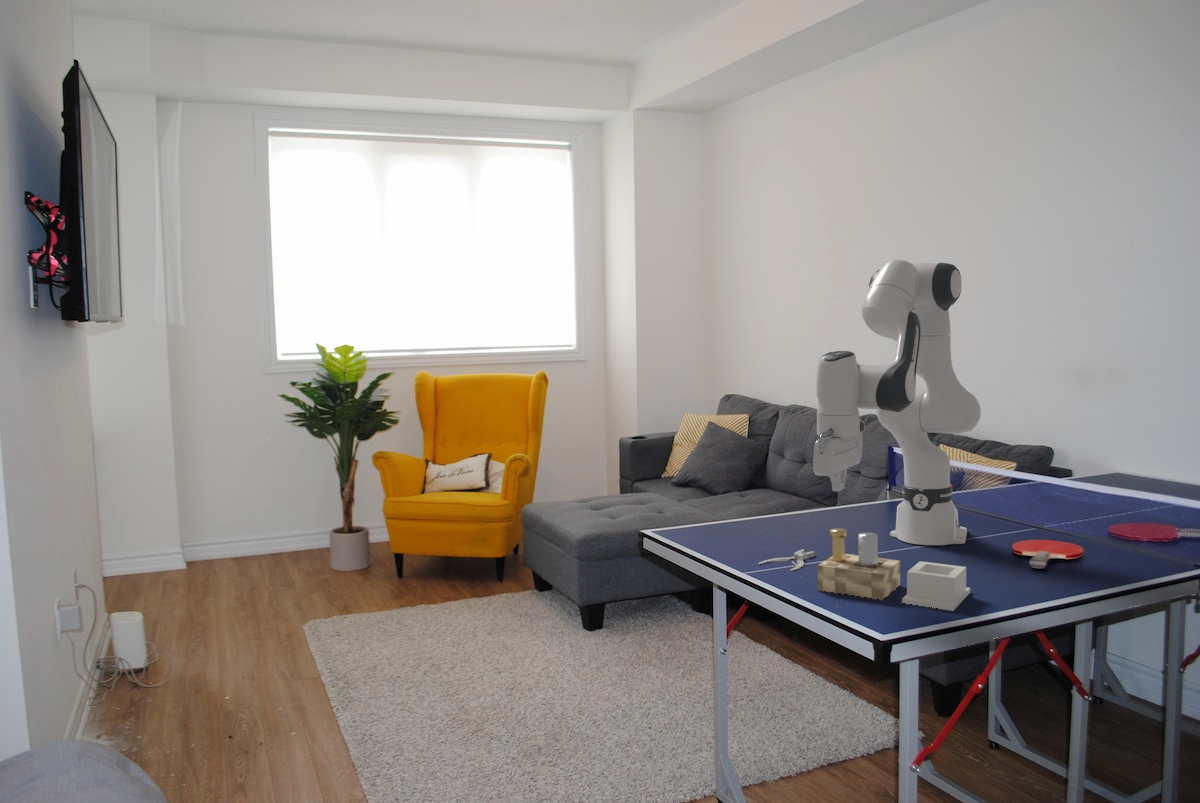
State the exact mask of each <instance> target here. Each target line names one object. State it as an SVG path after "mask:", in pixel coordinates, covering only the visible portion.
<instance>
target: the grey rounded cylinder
mask: <svg viewBox="0 0 1200 803" xmlns="http://www.w3.org/2000/svg"><path fill="white" fill-rule="evenodd" d="M878 535H879V534H878V533H875V532H871V531H870V532H868V531H867V532H859V533H858V542H857V544H858V546H857V548H858V550H857V551H858V552H857V553H858V554H857V555H858V567H866V568H873V569H877V568H878V558H879V545H878V544H879V543H878V542H879V541H878V540H879V539H878V538H879V536H878Z"/></svg>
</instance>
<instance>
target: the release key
mask: <svg viewBox="0 0 1200 803" xmlns="http://www.w3.org/2000/svg"><path fill="white" fill-rule="evenodd" d="M829 536H830V537H831V538H832V556H833V561H834V562H844V561H845V554H846V552H845V551H846V549H845V548H846V547H845V546H846V543H845V541H846V540H845V539H846V537H848V530H847V529H846V528H839V527H838V528H831V529H829Z"/></svg>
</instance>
